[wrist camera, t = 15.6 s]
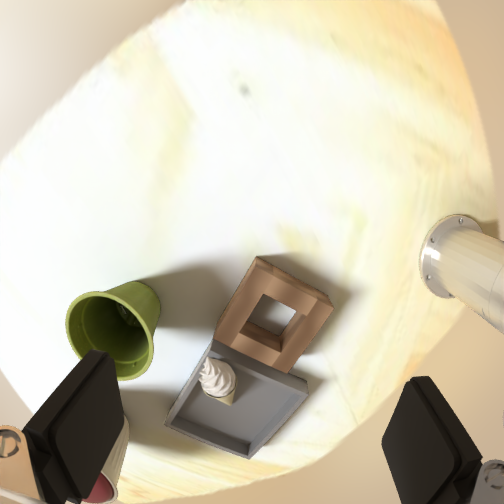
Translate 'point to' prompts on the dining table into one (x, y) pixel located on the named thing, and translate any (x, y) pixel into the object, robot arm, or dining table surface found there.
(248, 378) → the grey tray
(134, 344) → the plant pot
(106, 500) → the canister
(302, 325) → the cone stand
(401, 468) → the robot arm
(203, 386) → the ice cream cone
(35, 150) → the dining table surface
